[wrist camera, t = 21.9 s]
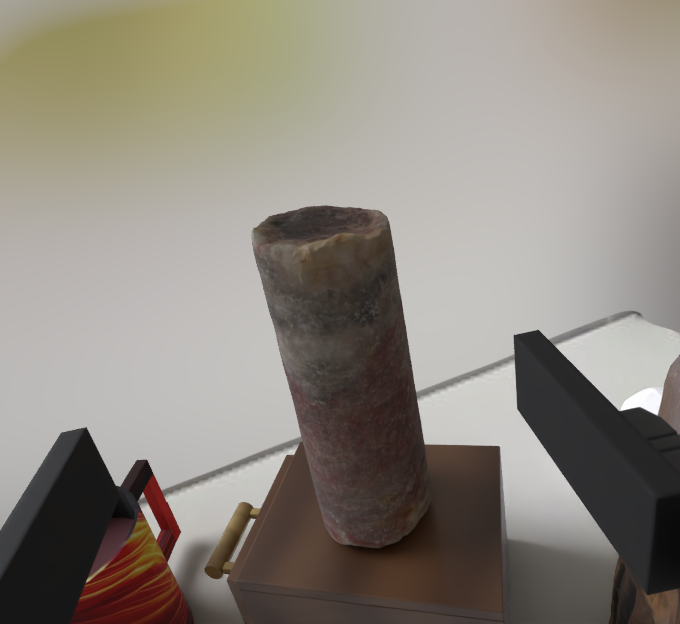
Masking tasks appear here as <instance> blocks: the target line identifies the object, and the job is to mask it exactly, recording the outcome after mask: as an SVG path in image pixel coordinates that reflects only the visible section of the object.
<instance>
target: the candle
mask: <svg viewBox="0 0 680 624" xmlns="http://www.w3.org/2000/svg"><path fill="white" fill-rule="evenodd" d="M252 245H253V250H254V255H255V259H256V263H257V266H258V270H259V273H260V276H261V280H262V284H263V289H264V292H265V296H266V300H267V304H268V308H269V312H270V315H271V318H272V321H273V325H274V328H275V332H276V336H277V342H278V346H279V350H280V354H281V358H282V362H283V366H284V369H285V373H286V376H287V380H288V384H289V388H290V391H291V395H292V398H293V402H294V406H295V410H296V415H297V419H298V423H299V428H300V432H301V437H302V442H303V445H304V449H305V453H306V456H307V460H308V464H309V468H310V472H311V476H312V480H313V484H314V488H315V492H316V496H317V500H318V503H319V507H320V510H321V514H322V518H323V521H324V525H325V527H326V529H327V530H328V532H329V534H330V535H331V537H332V538H333V539H334V540H335V541H337V542H338V543H339V544H343V545H353V546H361V547H368V548H381V547H384V546H386V545H389V544H393V543H396V542H398V541H400V539H401V538H402V537H403V536H405V535H407V534H409V533H410V532H411V531H412V530H413V529H414V528H415V526H416V525H417V523H418V522H419V520H420V518H421V517H422V516H423V515H424V513H425V512H426V510H427V509H428V506H429V504H430V502H431V497H432V493H431V485H430V478H429V472H428V465H427V458H426V452H425V445H424V439H423V433H422V427H421V420H420V414H419V408H418V402H417V396H416V390H415V384H414V379H413V371H412V365H411V359H410V353H409V346H408V339H407V332H406V326H405V320H404V314H403V307H402V300H401V295H400V289H399V283H398V276H397V269H396V261H395V254H394V247H393V242H392V236H391V230H390V224H389V221H388V218H387V216H385V215H384V214H383V213H382V212H381V211H378V210H368V209H366V210H365V209H361V208H352V207H348V208H341V207H333V206H311V207H305V208H301V209H298V210H294V211H288V212H286V213H281V214H277V215H273V216H269V217H268V218H267V219H266V220H265V221H264V222H262V223H261V224H260V225H259V226H258V227H256V228H254V229H253V230H252Z"/></svg>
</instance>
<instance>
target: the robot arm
mask: <svg viewBox="0 0 680 624" xmlns="http://www.w3.org/2000/svg"><path fill="white" fill-rule="evenodd" d="M514 350H515V371H516V391H517V409H518V410H519V412H520V413H521V415H522V416H523V418H524V419H525V421H526V422H527V423H528V425H529V426H530V428H531V429H532V431H533V432H534V433H535V435H536V436H537V438H538V439H539V441H540V442H541V444H542V445H543V446H544V448H545V449H546V451H547V452H548V454H549V455H550V457H551V458H552V459H553V461H554V462H555V464H556V465H557V467H558V468H559V469H560V471H561V472H562V474H563V475H564V477H565V478H566V480H567V481H568V482H569V484H570V485H571V487H572V488H573V490H574V491H575V492H576V494H577V495H578V497H579V498H580V500H581V501H582V503H583V504H584V505H585V507H586V508H587V510H588V511H589V513H590V514H591V515H592V517H593V518H594V520H595V521H596V523H597V524H598V526H599V527H600V528H601V530H602V531H603V533H604V534H605V536H606V537H607V538H608V540H609V541H610V543H611V544H612V546H613V547H614V549H615V550H616V551H617V553H618V554H619V556H620V557H621V559H622V560H623V561H624V563H625V564H626V566H627V567H628V569H629V570H630V572H631V573H632V574H633V576H634V577H635V579H636V580H637V582H638V583H639V585H640V586H641V587H642V589H643V590H644V592H645V593H646V595H651V594H656V593H660V592H665V591H670V590H674V589H679V588H680V435H678V434H677V431H676V430H675V429H673V428H672V427H671V426H670V425H669V424H668V423H667V422H666V421H665V420H664V419H663V418H661V417H660V416H657V415H655V414H653V413H651V412H649V411H647V410H645V409H643V408H641V407H636V408H631V409H627V410H622V411H618V410H617V409H616V408H615V407H614V405H613V404H612V403H611V402H610V401H609V400H608V399H607V398H606V397H605V396H604V395H603V394H602V393H601V392H600V391H599V390H598V389H597V388H596V387H595V386H594V385H593V384H592V383H591V382H590V381H589V380H588V379H587V378H586V377H585V376H584V375H583V374H582V373H581V372H580V371H579V370H578V369H577V368H576V367H575V366H574V365H573V364H572V363H571V362H570V361H569V360H568V359H567V358H566V357H565V356H564V355H563V354H562V353H561V352H560V351H559V350H558V349H557V348H556V347H555V346H554V345H553V344H552V343H551V342H550V341H549V340H548V339H547V338H546V337H545V336H544V335H543V334H542V333H541V332H540V331H539V330H536V331H531V332H527V333H522V334H517V335H514ZM119 497H120V493H119V491H118V489H117V487H116V485H115V484H114V481H113V480H112V477H111V475H110V474H109V471H108V469H107V467H106V465H105V464H104V461H103V460H102V458H101V456H100V454H99V451H98V450H97V447H96V445H95V443H94V442H93V440H92V437H91V436H90V433H89V432H88V430H87V428H81V429H76V430H72V431H67V432H62V433H61V434H60V436H59V437H58V439H57V441H56V442H55V444H54V445H53V447H52V448H51V450H50V452H49V453H48V455H47V456H46V458H45V460H44V461H43V463H42V465H41V466H40V468H39V469H38V471H37V473H36V474H35V476H34V477H33V479H32V480H31V482H30V484H29V485H28V487H27V489H26V490H25V492H24V493H23V495H22V497H21V498H20V500H19V501H18V503H17V505H16V506H15V508H14V510H13V511H12V513H11V514H10V516H9V517H8V519H7V521H6V522H5V524H4V525H3V527H2V529H1V530H0V624H70V622H71V620H72V617H73V614H74V612H75V609H76V607H77V604H78V602H79V599H80V597H81V594H82V591H83V589H84V586H85V584H86V581H87V579H88V576H89V573H90V571H91V568H92V566H93V563H94V561H95V558H96V556H97V553H98V550H99V548H100V545H101V543H102V540H103V538H104V535H105V533H106V530H107V527H108V525H109V522H110V520H111V517H112V515H113V512H114V510H115V507H116V504H117V502H118V499H119Z"/></svg>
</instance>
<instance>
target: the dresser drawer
mask: <svg viewBox="0 0 680 624" xmlns="http://www.w3.org/2000/svg"><path fill="white" fill-rule="evenodd" d="M293 457H294V455H287V456H286V458H285V460H284V462H283V464H282V466H281V468H280V470H279V472H278V474H277V476H276V478H275V480H274V483H273V485H272V487H271V489H270V491H269V493H268V495H267V497H266V499H265V501H264V503H263V505H262V507H261V509H257V508H253V506H252V505H250V504H249V503H246V502H241V503H240V504H239V505H238V507H237V509H236V511H235V512H234V514H233V516H232V518H231V520H230V522H229V524H228V526H227V527H226V529H225V531H224V533H223V535H222V537H221V539H220V541H219V542H218V544H217V546H216V548H215V550H214V552H213V554H212V556H211V557H210V559H209V561H208V563H207V565H206V567H205V572H206V574H207V575H208V576H210V577H211V578H214V579H220V578H221V577H222V576H223V574H229V576H228V578H227V582H228V585H229V587H230V589H231V592H232V594H233V596H234V599H235V601H236V603H237V606H238V608H239V610H240V613H241V615H242V617H243V620H244V622H245V624H253V622H252V620H251V617H250V615H249V613H248V610H247V608H246V605H245V603H244V601H243V598H242V596H241V593H240V591H239V588H238V585H237V583H236V579H237V577H238V575H239V573H240V571H241V569H242V566H243V564H244V562H245V560H246V558H247V556H248V553H249V551H250V549H251V547H252V545H253V543H254V541H255V538H256V536H257V534H258V532H259V530H260V528H261V526H262V523H263V521H264V519H265V517H266V515H267V513H268V510H269V508H270V506H271V504H272V502H273V500H274V498H275V495H276V493H277V491H278V489H279V487H280V485H281V482H282V480H283V478H284V476H285V474H286V472H287V470H288V467H289V465H290V463H291V461H292V459H293ZM251 518H252V519H256V520H255V522H254V524H253V526H252V528H251V530H250V532H249V534H248V536H247V538H246V541H245V543H244V545H243V547H242V549H241V551H240V553H239V555H238V557H237V559H236V561H235V563H233V562H230V560H231V558H232V556H233V553H234V551H235V549H236V547H237V545H238V543H239V541H240V539H241V537H242V535H243V533H244V531H245V529H246V527H247V525H248V523H249V521H250V519H251Z"/></svg>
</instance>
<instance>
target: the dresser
mask: <svg viewBox="0 0 680 624" xmlns="http://www.w3.org/2000/svg"><path fill="white" fill-rule="evenodd" d="M425 452H426V458H427V465H428V472H429V478H430V485H431V493H432V497H431V502H430V504H429V506H428V509H427V510H426V512H425V513H424V515H423V516H422V517H421V518H420V520H419V522H418V523H417V525H416V526H415V528H414V529H413V530H412V531H411V532H410V533H409V534H407V535H405V536H403V537H402V538H401V539H400V541H398V542H396V543H393V544H389V545H386V546H384V547H381V548H368V547H361V546H353V545H343V544H339V543H338V542H337V541H335V540H334V539H333V538H332V537H331V535H330V534H329V532H328V530H327V529H326V527H325V525H324V521H323V518H322V514H321V510H320V507H319V503H318V500H317V496H316V492H315V488H314V484H313V480H312V476H311V472H310V468H309V464H308V460H307V456H306V453H305V449H304V445H303V442H300V444H299V446H298V448H297V450H296V452H295V454H294V457H293V459H292V461H291V463H290V465H289V467H288V470H287V472H286V474H285V476H284V478H283V480H282V482H281V485H280V487H279V489H278V491H277V493H276V495H275V498H274V500H273V502H272V504H271V506H270V508H269V510H268V513H267V515H266V517H265V519H264V521H263V523H262V526H261V528H260V530H259V532H258V534H257V536H256V538H255V541H254V543H253V545H252V547H251V549H250V551H249V553H248V556H247V558H246V560H245V562H244V564H243V566H242V569H241V571H240V573H239V575H238V577H237V579H236V583H237V585H238V588H239V591H240V593H241V596H242V598H243V601H244V603H245V605H246V608H247V610H248V613H249V615H250V617H251V620H252V622H253V624H510V617H509V586H508V554H507V532H506V519H505V506H504V493H503V480H502V467H501V455H500V447H499V446H468V445H425Z"/></svg>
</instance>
